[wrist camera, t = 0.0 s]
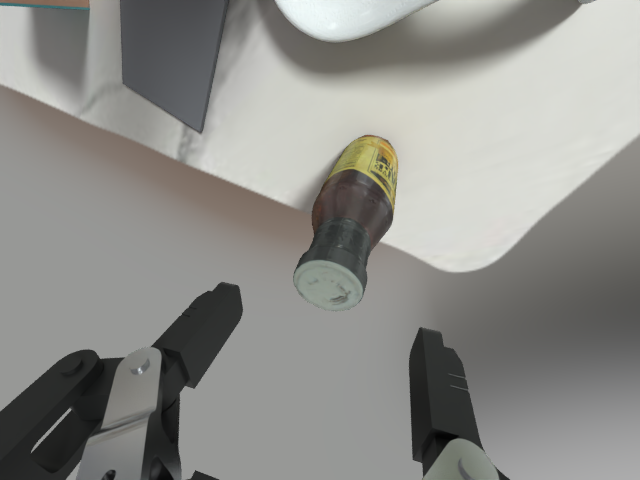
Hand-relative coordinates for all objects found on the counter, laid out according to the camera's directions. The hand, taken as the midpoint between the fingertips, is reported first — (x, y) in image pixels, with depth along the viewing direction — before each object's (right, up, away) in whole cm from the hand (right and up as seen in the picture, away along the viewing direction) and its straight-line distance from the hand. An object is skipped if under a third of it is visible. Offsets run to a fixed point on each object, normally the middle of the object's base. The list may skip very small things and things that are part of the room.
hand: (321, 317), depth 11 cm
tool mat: (-15, +25, +14) cm, 32 cm away
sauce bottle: (+6, +13, +18) cm, 23 cm away
